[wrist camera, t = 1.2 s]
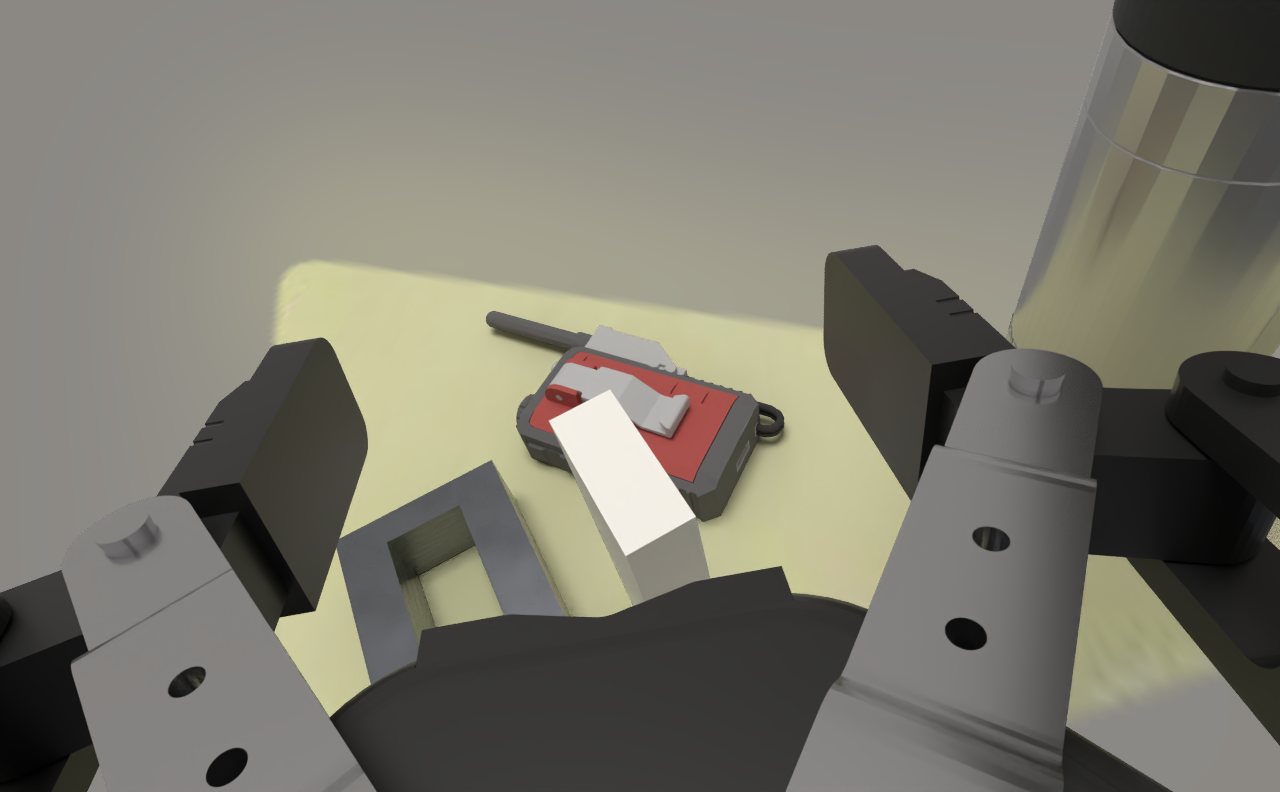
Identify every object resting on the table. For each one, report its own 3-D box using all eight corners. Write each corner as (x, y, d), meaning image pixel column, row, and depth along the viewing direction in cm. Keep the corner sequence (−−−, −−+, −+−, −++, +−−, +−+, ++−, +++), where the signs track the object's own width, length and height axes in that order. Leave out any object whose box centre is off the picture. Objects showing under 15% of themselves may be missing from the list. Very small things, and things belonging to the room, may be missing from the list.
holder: (593, 664, 31) (573, 635, 29) (423, 764, 30) (386, 743, 27) (513, 496, 37) (491, 460, 35) (369, 573, 36) (334, 541, 33)
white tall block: (739, 694, 29) (699, 514, 18) (695, 721, 29) (625, 556, 18) (679, 595, 33) (613, 387, 21) (639, 618, 32) (548, 420, 21)
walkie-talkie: (801, 403, 38) (504, 320, 47) (801, 348, 35) (480, 269, 43) (737, 541, 34) (421, 422, 42) (730, 493, 31) (388, 374, 39)
